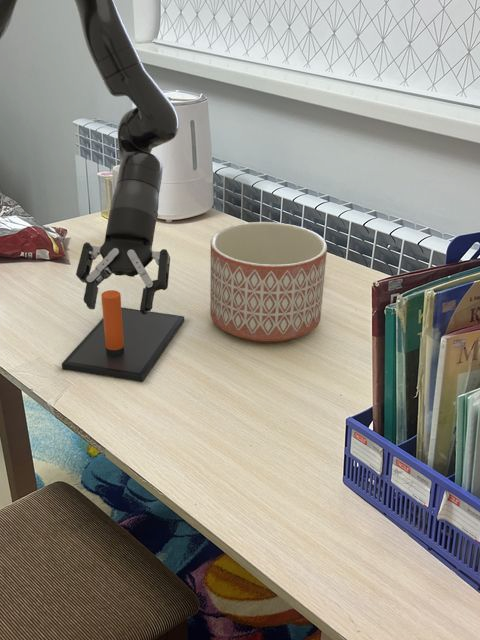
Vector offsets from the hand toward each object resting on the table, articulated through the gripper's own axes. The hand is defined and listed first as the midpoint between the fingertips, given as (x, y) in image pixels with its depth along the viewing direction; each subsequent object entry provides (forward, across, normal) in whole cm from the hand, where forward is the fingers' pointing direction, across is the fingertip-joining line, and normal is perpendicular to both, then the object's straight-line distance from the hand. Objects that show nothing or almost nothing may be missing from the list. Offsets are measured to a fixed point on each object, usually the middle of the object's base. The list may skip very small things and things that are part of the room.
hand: (116, 310), depth 108 cm
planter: (-5, +22, +14) cm, 27 cm away
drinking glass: (-29, -12, +39) cm, 50 cm away
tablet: (+4, +1, +6) cm, 7 cm away
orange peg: (+6, 0, +2) cm, 6 cm away
